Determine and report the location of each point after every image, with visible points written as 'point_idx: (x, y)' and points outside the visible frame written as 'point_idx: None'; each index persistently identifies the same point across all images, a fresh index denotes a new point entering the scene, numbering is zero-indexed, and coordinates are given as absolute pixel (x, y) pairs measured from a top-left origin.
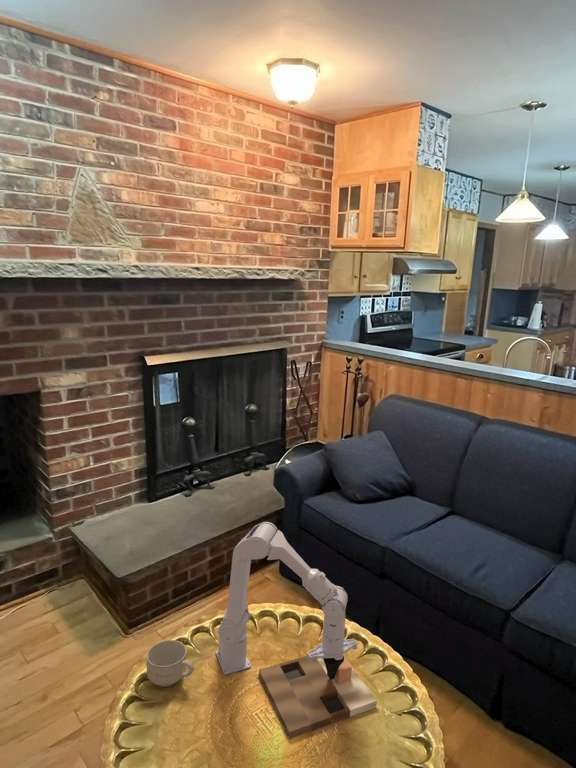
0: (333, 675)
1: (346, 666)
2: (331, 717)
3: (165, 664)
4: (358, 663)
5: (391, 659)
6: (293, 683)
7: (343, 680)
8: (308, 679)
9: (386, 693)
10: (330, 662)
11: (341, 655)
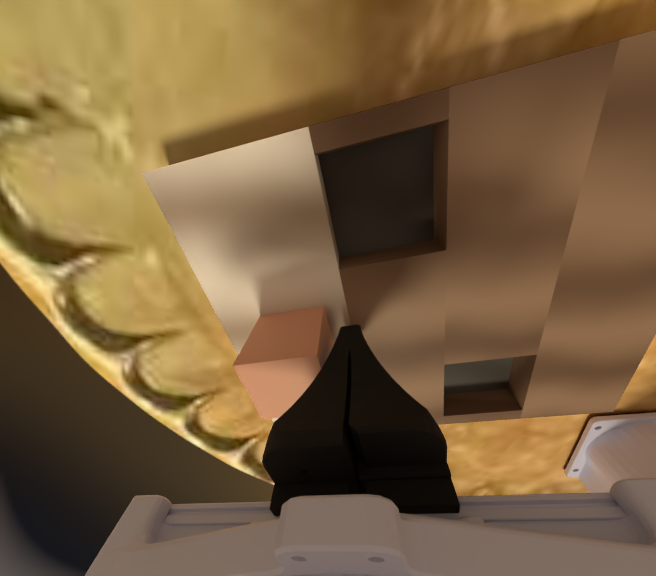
0: (349, 339)
1: (264, 373)
2: (445, 88)
3: None
4: (223, 372)
5: (108, 367)
6: (522, 339)
7: (296, 314)
8: (446, 345)
9: (122, 240)
10: (414, 440)
11: (291, 563)
